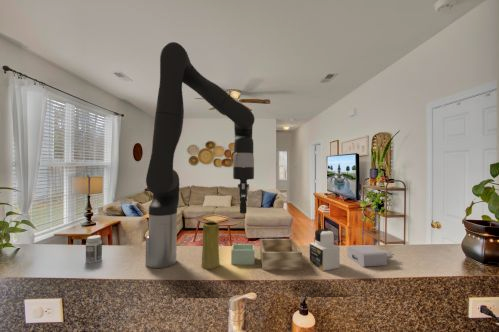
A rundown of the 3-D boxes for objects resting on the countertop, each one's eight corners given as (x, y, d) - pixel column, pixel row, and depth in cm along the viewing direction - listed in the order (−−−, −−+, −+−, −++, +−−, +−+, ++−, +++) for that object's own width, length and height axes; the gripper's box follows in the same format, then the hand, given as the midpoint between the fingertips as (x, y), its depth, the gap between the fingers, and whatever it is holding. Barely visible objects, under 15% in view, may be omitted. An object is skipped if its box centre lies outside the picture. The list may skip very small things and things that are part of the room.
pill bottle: (99, 256, 83) (99, 234, 83) (103, 260, 80) (104, 236, 80) (83, 260, 79) (84, 236, 79) (87, 264, 76) (88, 239, 76)
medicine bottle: (309, 262, 79) (309, 228, 79) (325, 260, 81) (325, 227, 82) (322, 271, 72) (322, 234, 72) (340, 268, 75) (340, 232, 75)
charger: (402, 265, 78) (363, 268, 75) (382, 255, 87) (347, 257, 84) (402, 251, 78) (363, 254, 75) (382, 243, 87) (347, 245, 84)
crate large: (262, 269, 73) (262, 252, 73) (259, 252, 88) (259, 238, 88) (302, 269, 73) (302, 252, 73) (292, 253, 88) (292, 239, 88)
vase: (215, 270, 72) (216, 226, 73) (198, 268, 74) (198, 224, 74) (221, 262, 78) (222, 221, 79) (205, 261, 80) (206, 220, 80)
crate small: (231, 264, 77) (231, 250, 77) (232, 257, 83) (232, 244, 83) (254, 264, 77) (254, 250, 77) (253, 257, 83) (253, 244, 84)
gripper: (234, 166, 88) (233, 207, 88) (232, 165, 74) (231, 214, 73) (253, 166, 88) (253, 207, 88) (254, 165, 74) (254, 215, 74)
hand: (243, 210), depth 81 cm, fingers open, 8 cm apart
